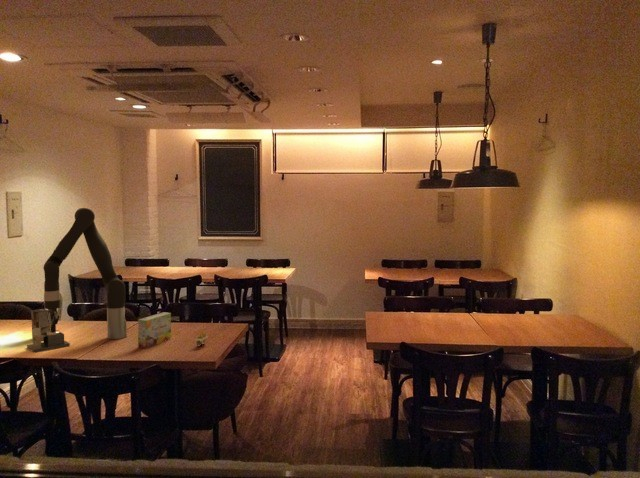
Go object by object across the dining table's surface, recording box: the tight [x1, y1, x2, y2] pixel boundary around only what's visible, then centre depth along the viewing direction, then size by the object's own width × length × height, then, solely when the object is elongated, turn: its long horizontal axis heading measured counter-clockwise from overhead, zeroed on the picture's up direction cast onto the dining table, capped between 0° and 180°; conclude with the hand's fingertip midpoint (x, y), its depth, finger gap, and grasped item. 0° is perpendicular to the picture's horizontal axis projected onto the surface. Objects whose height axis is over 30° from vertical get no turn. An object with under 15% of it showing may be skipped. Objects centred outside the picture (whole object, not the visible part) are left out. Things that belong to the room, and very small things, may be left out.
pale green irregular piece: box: [194, 332, 209, 347], centre depth 273 cm, size 12×18×7 cm, turn 168°
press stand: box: [26, 328, 71, 353], centre depth 270 cm, size 17×12×10 cm
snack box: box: [137, 311, 172, 349], centre depth 278 cm, size 21×6×15 cm, turn 160°
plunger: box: [35, 329, 61, 338], centre depth 269 cm, size 12×6×4 cm, turn 135°
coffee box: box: [30, 308, 50, 342], centre depth 285 cm, size 9×6×16 cm
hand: (53, 331), depth 271 cm, fingers closed
